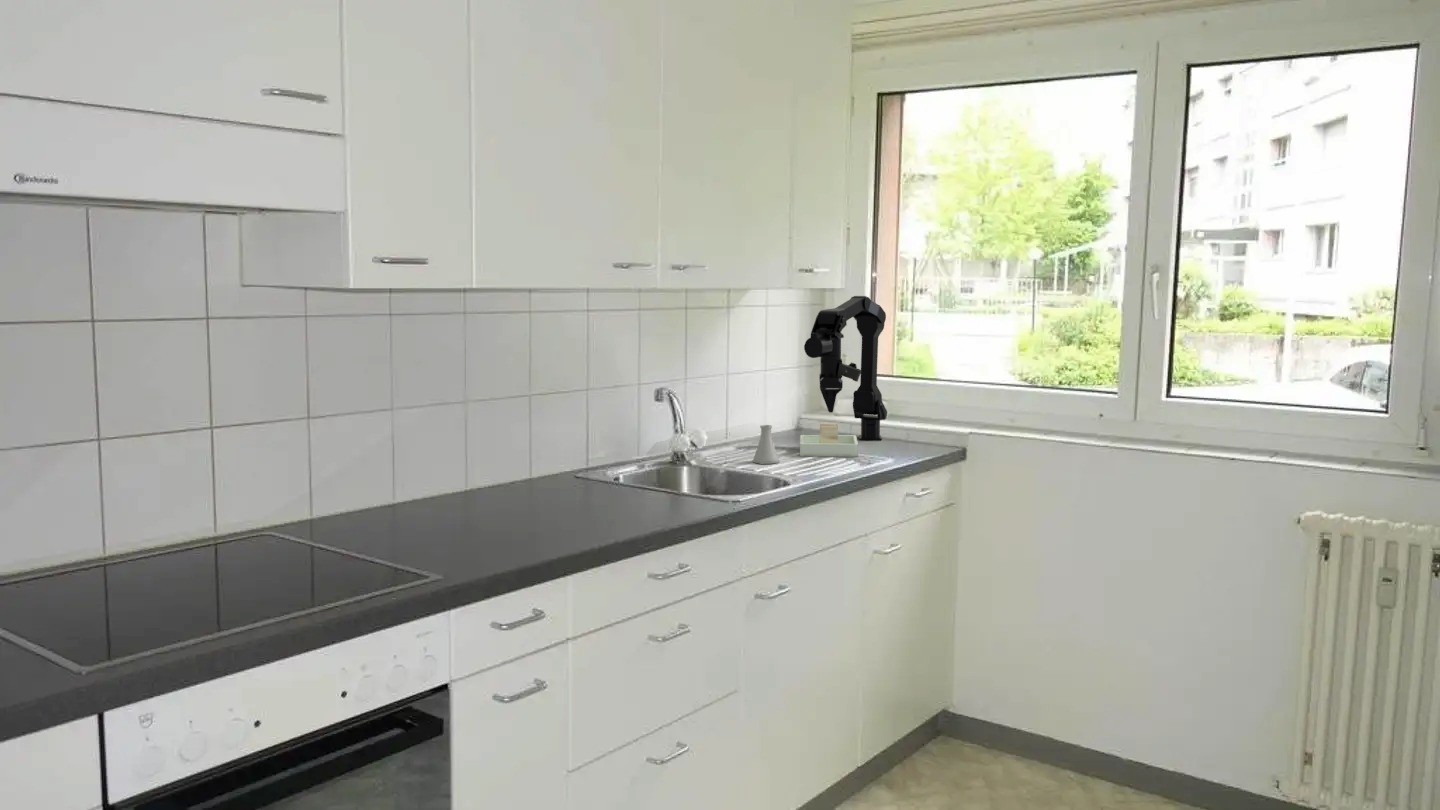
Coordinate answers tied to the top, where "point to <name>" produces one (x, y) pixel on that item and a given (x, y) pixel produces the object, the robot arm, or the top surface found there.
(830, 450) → the sage bin
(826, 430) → the birch block
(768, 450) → the flask
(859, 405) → the robot arm
